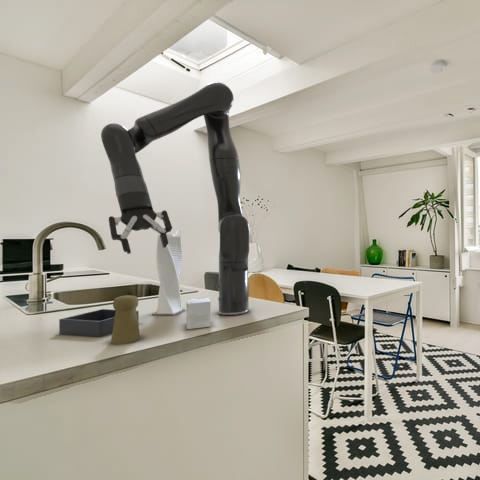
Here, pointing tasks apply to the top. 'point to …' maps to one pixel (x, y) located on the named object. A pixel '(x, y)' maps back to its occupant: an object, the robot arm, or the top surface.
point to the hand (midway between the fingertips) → (147, 249)
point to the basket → (89, 323)
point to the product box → (198, 313)
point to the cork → (125, 320)
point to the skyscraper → (169, 275)
